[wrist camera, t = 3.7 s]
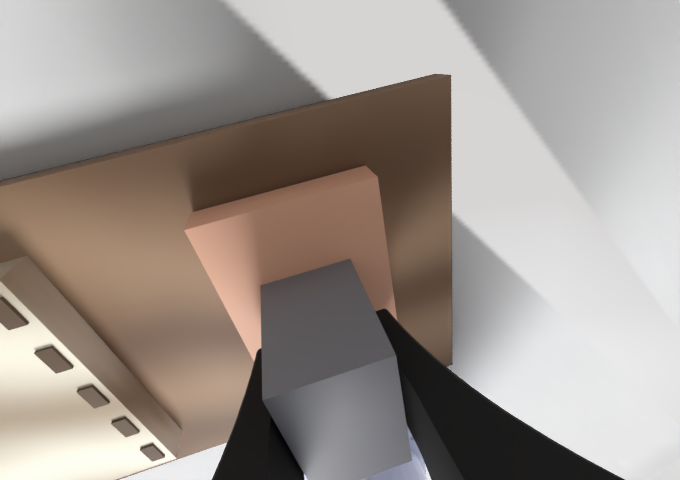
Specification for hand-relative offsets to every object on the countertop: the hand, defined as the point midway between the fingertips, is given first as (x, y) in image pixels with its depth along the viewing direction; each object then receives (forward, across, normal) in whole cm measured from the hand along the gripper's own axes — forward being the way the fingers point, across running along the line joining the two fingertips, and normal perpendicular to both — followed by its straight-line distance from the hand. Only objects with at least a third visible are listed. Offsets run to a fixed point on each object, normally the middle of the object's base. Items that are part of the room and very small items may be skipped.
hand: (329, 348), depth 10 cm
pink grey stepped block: (+2, 0, 0) cm, 2 cm away
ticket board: (+3, +7, 0) cm, 8 cm away
